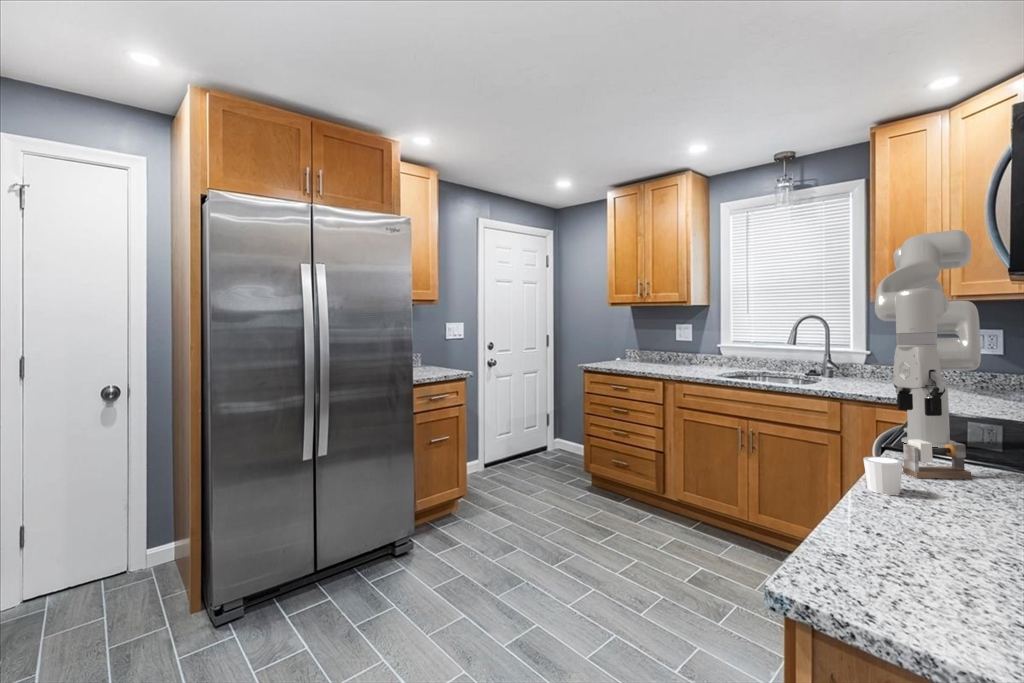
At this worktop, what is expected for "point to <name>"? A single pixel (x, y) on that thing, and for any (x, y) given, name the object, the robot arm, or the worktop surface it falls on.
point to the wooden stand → (937, 471)
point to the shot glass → (883, 474)
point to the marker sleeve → (922, 449)
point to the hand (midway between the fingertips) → (918, 412)
